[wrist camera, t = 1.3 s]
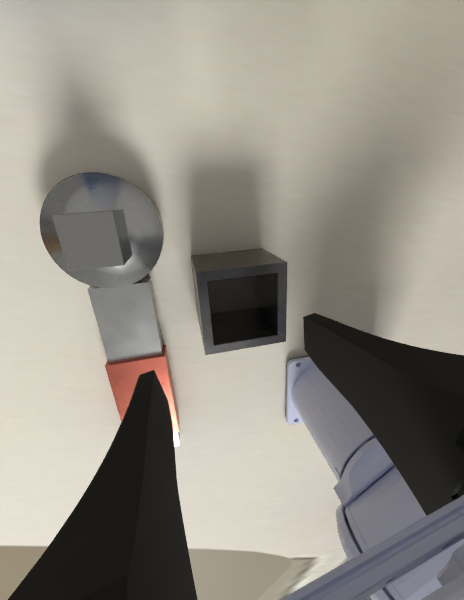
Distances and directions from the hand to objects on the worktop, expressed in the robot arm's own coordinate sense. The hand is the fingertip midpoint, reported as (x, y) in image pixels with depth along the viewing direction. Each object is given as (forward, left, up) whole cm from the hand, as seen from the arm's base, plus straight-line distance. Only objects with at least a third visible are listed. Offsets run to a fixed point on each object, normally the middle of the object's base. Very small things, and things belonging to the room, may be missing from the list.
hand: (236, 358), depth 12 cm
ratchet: (+6, +3, -10) cm, 12 cm away
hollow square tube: (-2, 0, -10) cm, 10 cm away
